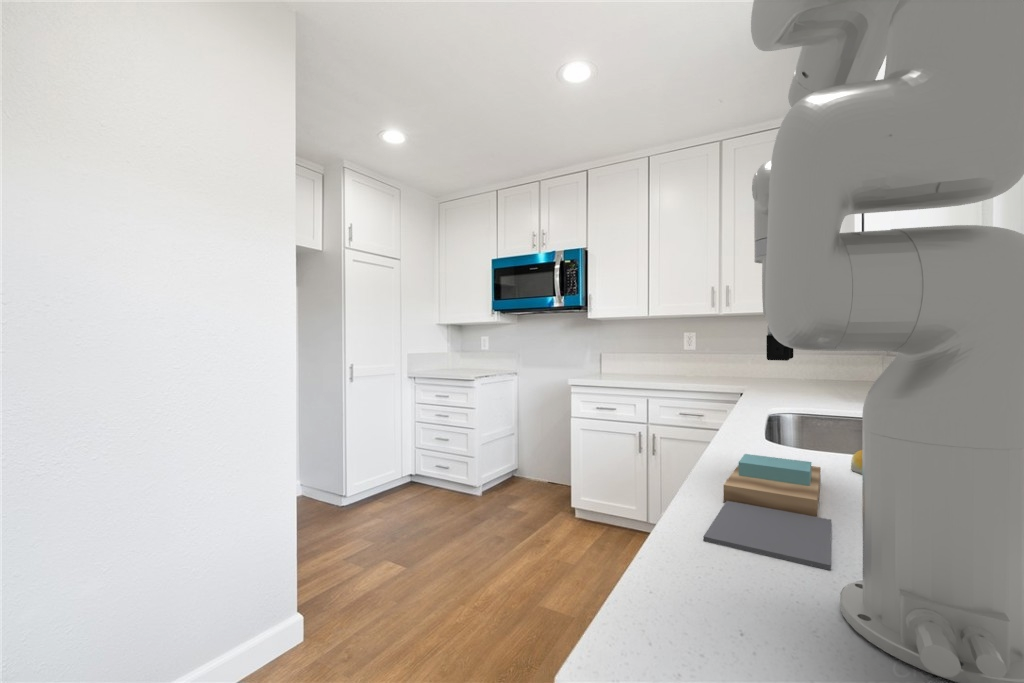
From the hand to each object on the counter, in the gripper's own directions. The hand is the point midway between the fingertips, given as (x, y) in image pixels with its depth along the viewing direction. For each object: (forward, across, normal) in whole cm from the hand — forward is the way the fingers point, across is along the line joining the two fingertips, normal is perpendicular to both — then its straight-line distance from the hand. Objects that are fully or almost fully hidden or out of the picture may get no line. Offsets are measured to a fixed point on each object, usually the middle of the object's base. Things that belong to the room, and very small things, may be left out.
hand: (780, 358), depth 76 cm
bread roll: (+20, +12, -14) cm, 27 cm away
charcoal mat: (+20, -26, -1) cm, 32 cm away
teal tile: (+16, -9, 0) cm, 19 cm away
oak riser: (+20, -9, 0) cm, 22 cm away
